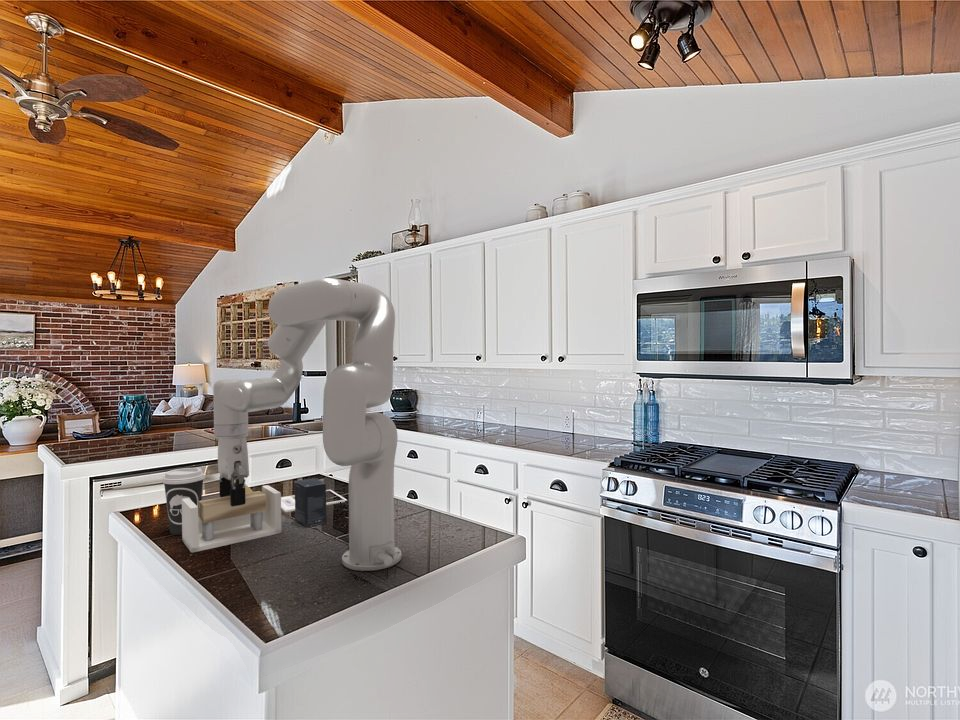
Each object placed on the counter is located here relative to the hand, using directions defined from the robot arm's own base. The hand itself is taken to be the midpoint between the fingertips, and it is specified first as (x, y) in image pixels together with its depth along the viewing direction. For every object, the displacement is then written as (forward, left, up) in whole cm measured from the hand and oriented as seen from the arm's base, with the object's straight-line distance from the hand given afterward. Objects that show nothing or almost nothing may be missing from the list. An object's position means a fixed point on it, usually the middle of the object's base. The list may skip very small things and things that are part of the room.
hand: (232, 500), depth 129 cm
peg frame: (0, 0, -9) cm, 9 cm away
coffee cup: (+13, +8, -9) cm, 18 cm away
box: (-1, -19, -9) cm, 21 cm away
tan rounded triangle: (+15, -5, -9) cm, 18 cm away
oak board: (0, 0, -3) cm, 3 cm away
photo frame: (+18, -26, -9) cm, 33 cm away
